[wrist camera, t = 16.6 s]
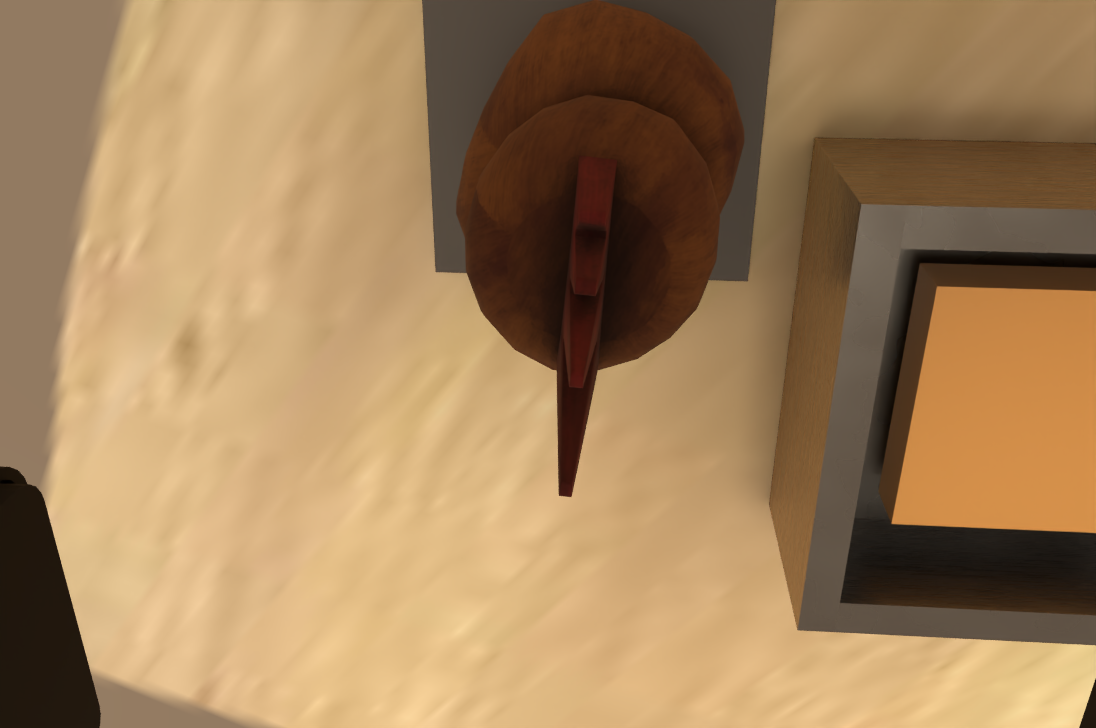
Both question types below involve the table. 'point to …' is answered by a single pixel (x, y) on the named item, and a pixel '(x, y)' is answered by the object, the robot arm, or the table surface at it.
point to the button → (996, 401)
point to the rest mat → (498, 31)
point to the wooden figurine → (597, 196)
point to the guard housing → (872, 378)
